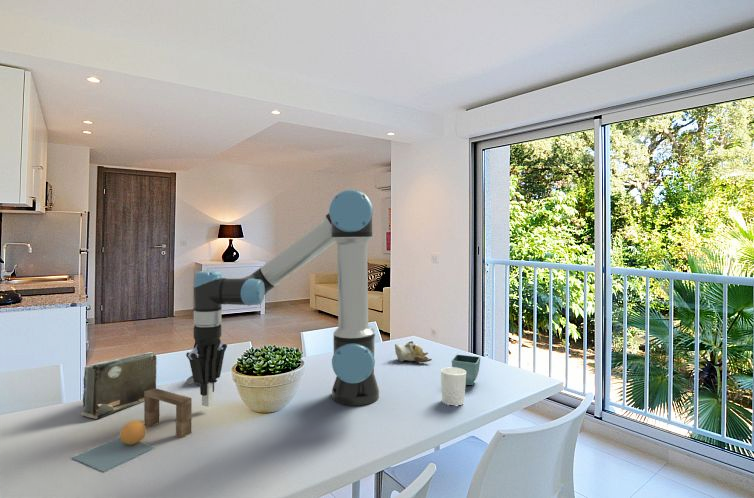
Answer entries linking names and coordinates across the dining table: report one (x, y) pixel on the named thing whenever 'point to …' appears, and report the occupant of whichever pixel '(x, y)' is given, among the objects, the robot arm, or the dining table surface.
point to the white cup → (453, 385)
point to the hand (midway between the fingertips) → (207, 404)
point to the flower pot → (467, 366)
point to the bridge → (180, 401)
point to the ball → (133, 432)
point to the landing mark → (112, 454)
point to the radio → (117, 384)
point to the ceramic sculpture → (411, 353)
